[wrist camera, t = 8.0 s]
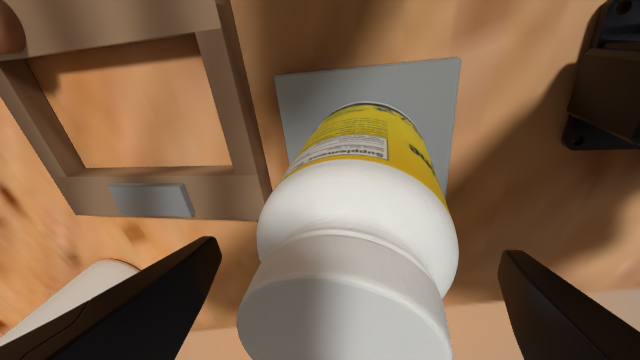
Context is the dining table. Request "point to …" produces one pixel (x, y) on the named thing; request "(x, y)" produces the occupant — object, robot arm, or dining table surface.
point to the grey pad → (377, 86)
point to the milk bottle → (74, 294)
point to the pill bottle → (353, 248)
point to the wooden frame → (137, 182)
